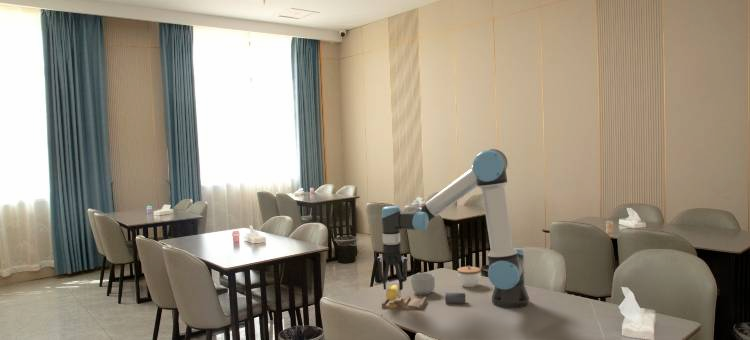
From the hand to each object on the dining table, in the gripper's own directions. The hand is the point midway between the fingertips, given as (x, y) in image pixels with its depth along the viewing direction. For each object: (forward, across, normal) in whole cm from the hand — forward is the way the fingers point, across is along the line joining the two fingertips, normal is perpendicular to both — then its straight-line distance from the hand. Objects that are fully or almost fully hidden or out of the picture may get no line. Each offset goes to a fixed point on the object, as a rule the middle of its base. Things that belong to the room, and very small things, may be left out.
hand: (393, 296), depth 225 cm
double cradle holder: (+3, -5, 0) cm, 6 cm away
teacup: (+3, -9, -20) cm, 22 cm away
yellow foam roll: (-2, 0, 0) cm, 2 cm away
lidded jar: (+3, -29, -32) cm, 44 cm away
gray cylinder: (+1, -26, -5) cm, 26 cm away
